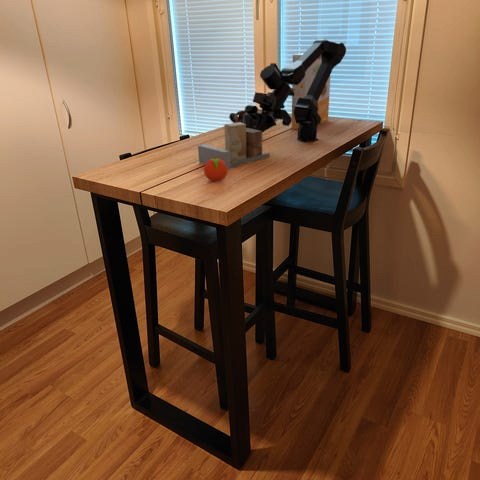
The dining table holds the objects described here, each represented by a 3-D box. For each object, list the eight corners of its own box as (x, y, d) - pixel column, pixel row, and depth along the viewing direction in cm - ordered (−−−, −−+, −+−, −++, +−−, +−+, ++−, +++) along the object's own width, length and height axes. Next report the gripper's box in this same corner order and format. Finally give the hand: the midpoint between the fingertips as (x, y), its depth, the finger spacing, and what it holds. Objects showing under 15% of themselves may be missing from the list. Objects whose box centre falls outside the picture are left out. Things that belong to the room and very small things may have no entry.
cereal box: (316, 119, 204) (318, 51, 190) (328, 121, 200) (331, 51, 187) (291, 129, 188) (292, 54, 174) (304, 130, 184) (306, 54, 171)
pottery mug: (256, 125, 199) (256, 111, 192) (247, 138, 195) (247, 124, 188) (233, 118, 202) (232, 104, 195) (224, 130, 198) (223, 116, 191)
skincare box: (230, 162, 144) (229, 126, 139) (225, 159, 148) (223, 124, 142) (247, 159, 147) (246, 123, 141) (241, 157, 150) (240, 121, 145)
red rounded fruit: (230, 184, 124) (229, 160, 121) (207, 187, 123) (205, 163, 120) (225, 176, 131) (224, 153, 128) (203, 178, 130) (201, 156, 127)
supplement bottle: (258, 138, 175) (257, 107, 170) (242, 137, 176) (240, 107, 171) (261, 134, 181) (260, 104, 176) (245, 134, 182) (244, 105, 177)
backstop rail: (245, 150, 158) (244, 134, 155) (272, 157, 149) (272, 139, 146) (199, 162, 146) (197, 145, 143) (225, 170, 136) (224, 152, 134)
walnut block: (244, 152, 155) (244, 127, 151) (262, 156, 149) (261, 130, 145) (236, 154, 153) (235, 129, 149) (253, 159, 147) (253, 132, 143)
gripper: (247, 81, 152) (225, 117, 150) (286, 84, 139) (262, 124, 138) (263, 101, 160) (242, 136, 158) (301, 106, 147) (279, 144, 146)
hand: (255, 134), depth 150 cm, fingers closed
